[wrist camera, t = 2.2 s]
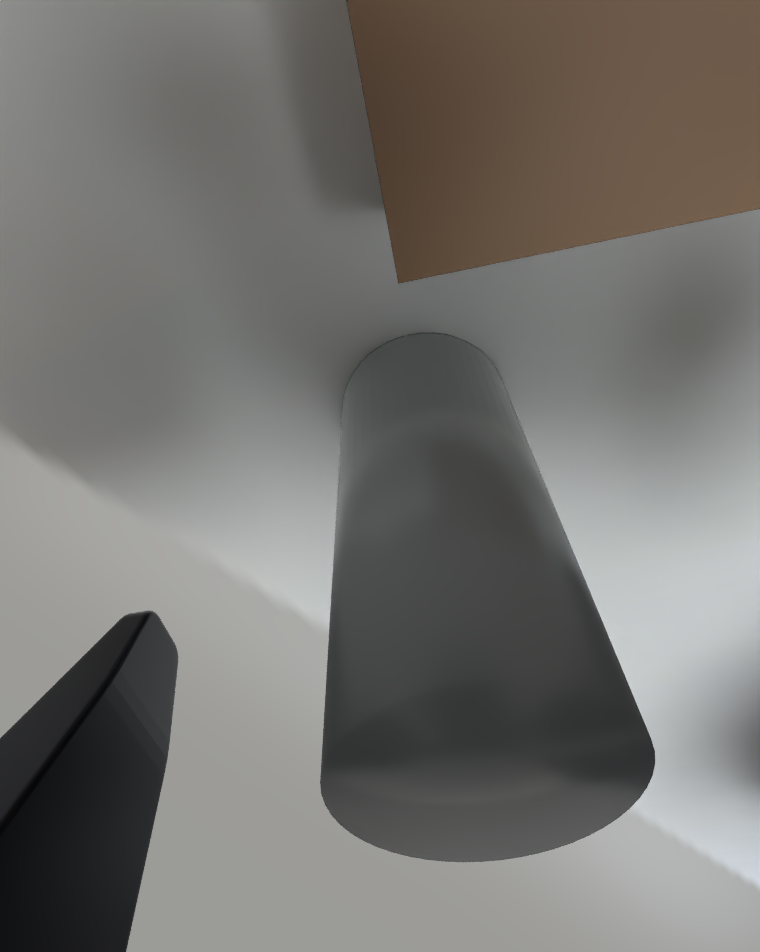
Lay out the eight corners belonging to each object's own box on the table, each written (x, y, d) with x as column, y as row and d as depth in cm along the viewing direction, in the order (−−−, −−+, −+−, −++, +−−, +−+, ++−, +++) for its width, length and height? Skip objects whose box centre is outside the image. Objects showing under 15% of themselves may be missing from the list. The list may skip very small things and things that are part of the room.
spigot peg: (511, 462, 14) (647, 843, 7) (361, 488, 14) (360, 875, 7) (497, 317, 12) (665, 655, 5) (325, 351, 12) (279, 710, 6)
